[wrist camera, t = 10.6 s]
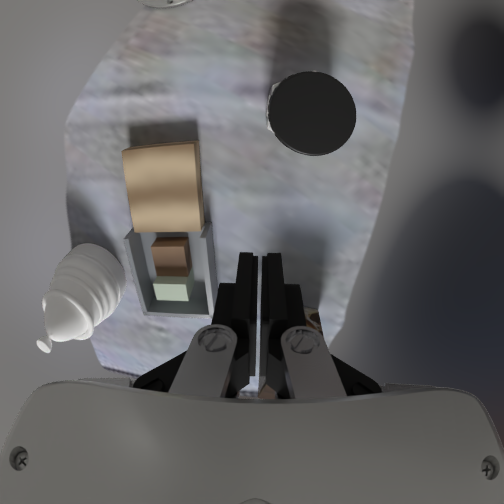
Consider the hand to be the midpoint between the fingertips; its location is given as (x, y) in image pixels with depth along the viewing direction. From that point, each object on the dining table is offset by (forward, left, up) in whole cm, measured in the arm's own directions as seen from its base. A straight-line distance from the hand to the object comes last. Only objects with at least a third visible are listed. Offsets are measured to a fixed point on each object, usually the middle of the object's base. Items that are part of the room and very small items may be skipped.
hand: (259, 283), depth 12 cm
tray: (+17, -13, -29) cm, 36 cm away
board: (+4, -13, -29) cm, 32 cm away
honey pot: (+20, -30, -29) cm, 46 cm away
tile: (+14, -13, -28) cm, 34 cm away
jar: (-6, +5, -29) cm, 30 cm away
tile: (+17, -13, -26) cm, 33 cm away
